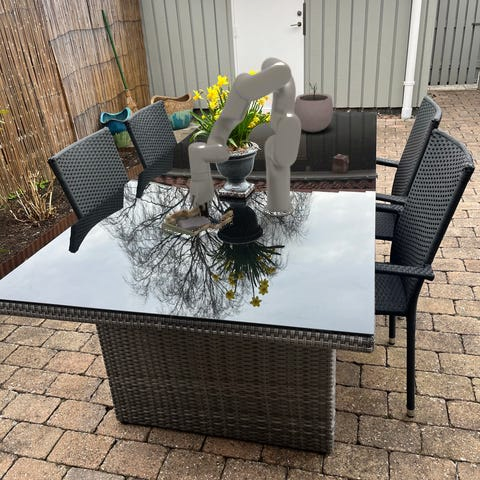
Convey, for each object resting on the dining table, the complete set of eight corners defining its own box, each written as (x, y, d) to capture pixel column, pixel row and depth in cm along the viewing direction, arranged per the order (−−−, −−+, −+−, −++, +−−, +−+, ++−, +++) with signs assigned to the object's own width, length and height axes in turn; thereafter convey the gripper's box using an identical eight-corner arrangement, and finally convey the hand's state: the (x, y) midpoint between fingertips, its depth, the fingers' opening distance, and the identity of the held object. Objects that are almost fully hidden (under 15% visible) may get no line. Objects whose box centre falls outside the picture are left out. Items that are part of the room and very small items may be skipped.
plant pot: (338, 127, 301) (340, 78, 286) (322, 138, 283) (324, 86, 269) (303, 123, 312) (304, 76, 298) (286, 133, 295) (286, 83, 280)
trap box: (197, 207, 206) (196, 199, 204) (240, 219, 193) (239, 211, 192) (157, 229, 189) (156, 221, 188) (200, 244, 177) (200, 235, 175)
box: (342, 173, 232) (343, 159, 228) (331, 171, 235) (332, 157, 232) (348, 170, 236) (349, 155, 233) (337, 167, 239) (338, 153, 236)
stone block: (176, 231, 191) (184, 237, 182) (175, 219, 189) (182, 225, 180) (204, 225, 195) (213, 230, 186) (203, 214, 194) (211, 219, 185)
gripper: (206, 167, 192) (210, 208, 201) (180, 179, 182) (185, 222, 191) (220, 170, 188) (223, 212, 196) (194, 183, 178) (199, 226, 186)
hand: (204, 217), depth 193 cm, fingers closed
